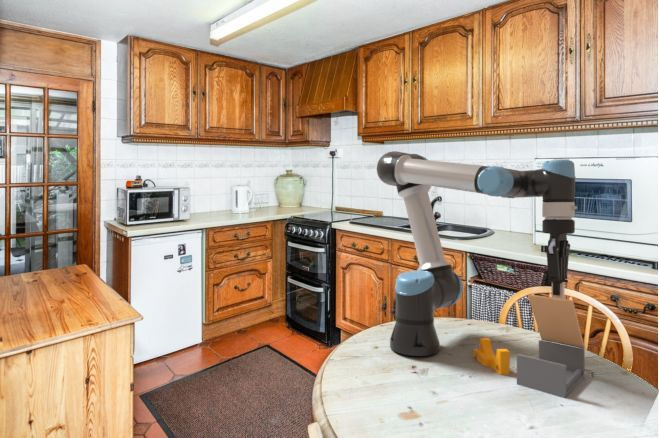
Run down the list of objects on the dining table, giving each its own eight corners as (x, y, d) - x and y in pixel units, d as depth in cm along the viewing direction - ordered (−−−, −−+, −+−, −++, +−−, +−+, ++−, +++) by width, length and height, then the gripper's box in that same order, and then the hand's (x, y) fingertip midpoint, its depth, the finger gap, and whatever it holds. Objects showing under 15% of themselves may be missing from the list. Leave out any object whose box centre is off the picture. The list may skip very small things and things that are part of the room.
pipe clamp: (473, 359, 121) (473, 338, 121) (487, 359, 122) (487, 337, 122) (494, 375, 109) (494, 351, 109) (509, 375, 110) (509, 351, 110)
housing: (516, 384, 104) (516, 354, 103) (539, 366, 115) (540, 340, 115) (565, 397, 96) (565, 366, 96) (584, 377, 108) (584, 349, 108)
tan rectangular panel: (527, 296, 108) (528, 293, 108) (541, 340, 115) (542, 338, 116) (572, 302, 100) (572, 299, 101) (583, 349, 108) (584, 346, 109)
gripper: (566, 219, 101) (566, 313, 102) (581, 218, 110) (580, 305, 111) (534, 218, 107) (534, 308, 107) (551, 218, 116) (550, 301, 116)
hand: (557, 306), depth 109 cm, fingers closed
